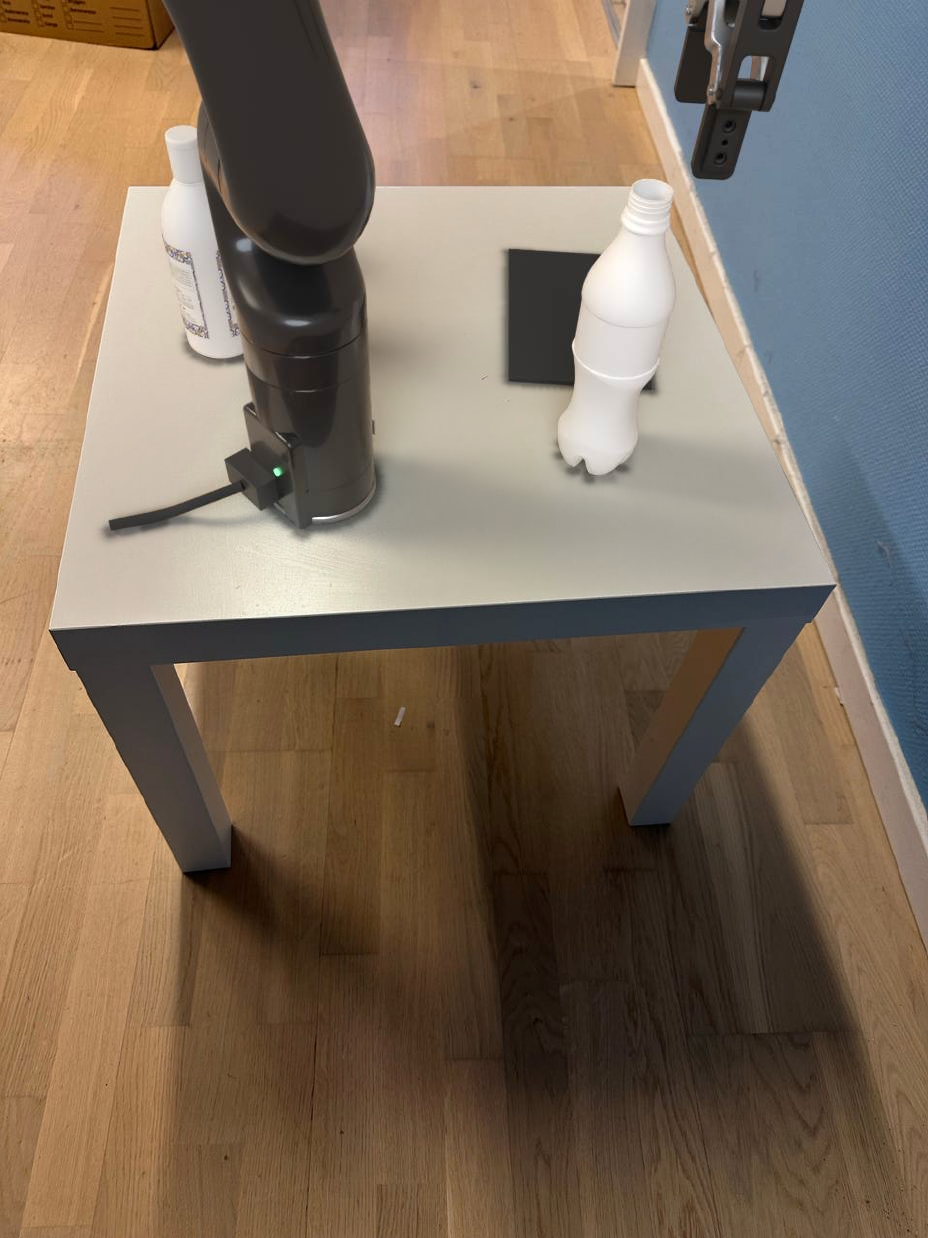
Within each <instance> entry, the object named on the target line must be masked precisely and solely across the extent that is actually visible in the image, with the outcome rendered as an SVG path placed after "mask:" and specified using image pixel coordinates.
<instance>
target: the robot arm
mask: <svg viewBox="0 0 928 1238" xmlns="http://www.w3.org/2000/svg"><path fill="white" fill-rule="evenodd" d="M161 1H162V3H163V5H164V8H165V9H166V11H167V14H168V15H169V18H170V20H171V21H172V23H173V26H174V28H175V30H176V32H177V34H178V37H179V39H180V41H181V44H182V46H183V48H184V51H185V53H186V57H187V60H188V62H189V64H190V68H191V70H192V73H193V75H194V78H195V82H196V85H197V89H198V90H199V93H200V94H199V95H200V97H201V100H200V105H199V108H198V113H197V118H196V119H197V120H196V128H197V144H198V153H199V159H200V164H201V170H202V175H203V180H204V185H205V190H206V194H207V199H208V204H209V209H210V213H211V218H212V223H213V227H214V232H215V237H216V242H217V246H218V251H219V256H220V260H221V264H222V268H223V271H224V275H225V278H226V281H227V284H228V287H229V290H230V293H231V297H232V300H233V303H234V307H235V312H236V317H237V322H238V327H239V333H240V338H241V343H242V349H243V354H242V355H243V360H244V365H245V371H246V376H247V382H248V387H249V393H250V397H251V401H249V402H247V403H245V404H244V405H243V406H242V412H243V417H244V423H245V429H246V432H247V437H248V442H249V448H250V449H249V448H248V447H247V446H245V447H244V448H242V449H241V450H239V451H237V452H235V453H233V454H231V455H230V456H228V457H226V458H224V460H223V461H224V465H225V470H226V473H227V478H228V482H229V483H230V484H228V485H224V486H222V487H220V488H216V489H215V490H211V491H209V492H207V493H204V494H201V495H198V496H196V497H193V498H191V499H188V500H185V501H182V502H180V503H177V504H174V505H172V506H167V507H164V508H161V509H156V510H153V511H148V512H142V513H139V514H138V513H137V514H133V515H128V516H122V517H118V518H113V519H108V526H109V528H110V531H116V530H121V529H122V530H123V529H128V528H131V527H136V526H142V525H147V524H152V523H156V522H160V521H163V520H168V519H172V518H174V517H178V516H181V515H184V514H187V513H189V512H191V511H194V510H197V509H200V508H202V507H205V506H207V505H210V504H213V503H216V502H218V501H220V500H223V499H226V498H228V497H231V496H233V495H236V494H239V493H241V494H242V495H243V497H245V498H246V499H247V500H248V501H249V502H251V504H252V505H253V506H255V508H257V509H258V511H260V512H262V511H264V510H265V509H267V508H269V507H271V506H272V505H273V506H274V507H275V508H276V509H277V510H278V511H279V512H281V513H282V514H283V515H284V516H286V517H287V518H288V519H289V520H290V521H291V522H292V523H293V524H294V525H295V526H296V527H297V528H298V529H300V530H303V529H306V528H308V527H309V526H311V525H316V524H317V525H318V524H319V525H323V524H332V523H337V522H340V521H341V522H342V521H344V520H346V519H349V518H351V517H353V516H355V515H356V514H359V512H362V510H363V509H365V507H367V505H369V503H370V502H371V501H372V498H373V497H374V495H375V492H376V487H377V474H376V473H377V472H376V468H375V452H374V451H375V450H374V436H375V435H376V427H375V420H373V412H372V391H371V390H372V388H371V368H370V365H371V364H370V346H369V345H370V342H369V321H368V319H369V318H368V299H367V297H368V295H367V287H366V281H365V277H364V274H363V271H362V268H361V265H360V261H359V259H358V256H357V253H356V250H355V244H357V242H358V241H359V239H360V238H361V237H362V235H363V233H364V231H365V229H366V227H367V225H368V223H369V221H370V218H371V215H372V211H373V208H374V203H375V197H376V189H377V187H376V186H377V185H376V166H375V160H374V156H373V153H372V149H371V146H370V144H369V141H368V138H367V136H366V132H365V130H364V127H363V125H362V122H361V120H360V117H359V114H358V112H357V109H356V106H355V104H354V101H353V98H352V95H351V93H350V90H349V86H348V84H347V81H346V78H345V74H344V72H343V70H342V66H341V63H340V60H339V57H338V54H337V51H336V49H335V46H334V43H333V40H332V37H331V34H330V32H329V31H330V30H329V28H328V24H327V21H326V18H325V16H324V12H323V8H322V5H321V1H320V0H161ZM804 3H805V0H688V3H687V4H686V5H685V10H684V17H685V23H686V25H687V28H686V32H685V37H684V40H683V45H682V50H681V54H680V59H679V62H678V67H677V72H676V77H675V82H674V85H673V93H674V98H675V100H676V101H677V103H680V104H681V103H682V104H694V105H695V104H696V105H704V109H703V113H702V117H701V120H700V125H699V129H698V133H697V137H696V141H695V144H694V149H693V152H692V156H691V160H690V169H691V173H692V176H693V177H694V178H695V179H698V180H713V181H726V180H728V179H730V178H731V177H732V176H733V175H734V173H735V170H736V166H737V163H738V160H739V157H740V153H741V151H742V147H743V143H744V140H745V137H746V133H747V130H748V127H749V123H750V119H751V116H752V112H758V113H770V111H771V110H772V108H773V105H774V103H775V101H776V98H777V92H778V89H779V85H780V82H781V79H782V75H783V73H784V70H785V65H786V62H787V59H788V57H789V53H790V50H791V45H792V42H793V39H794V36H795V33H796V29H797V26H798V23H799V19H800V17H801V13H802V10H803V7H804ZM733 24H734V26H732V25H733ZM747 57H751V66H750V73H749V74H750V75H749V77H739V74H740V71H741V66H742V63H743V61H744V60H745V59H746V58H747Z"/></svg>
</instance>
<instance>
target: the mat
mask: <svg viewBox="0 0 928 1238" xmlns="http://www.w3.org/2000/svg"><path fill="white" fill-rule="evenodd" d="M601 255H602V253H601V254H600V253H583V252H568V251H552V250H536V249H521V248H508V382H516V383H517V382H518V383H531V384H533V383H534V384H550V385H567V386H568V385H569V386H574V384H575V363H574V354H573V349H572V343H573V340H574V338H575V335H576V330H577V324H578V319H579V313H580V307H581V302H582V288H583V284H584V282H585V279H586V277H587V275H588V272H589V271H590V269H591V268H592V266H593V265H594V263H595V262H596V261H597V260H598V258H599V257H600V256H601ZM652 388H653V385H652V378H651V379H650V380H649V381H648V382H647V383H646V385H645V386H644V387H643V388H642V390H652Z"/></svg>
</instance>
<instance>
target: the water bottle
mask: <svg viewBox="0 0 928 1238" xmlns="http://www.w3.org/2000/svg"><path fill="white" fill-rule="evenodd" d="M674 194H675V191H674V189H673V187H672V186H671V185H669V184H668V183H667V182H665V181H663V180H660V179H655V178H643V179H637V180H636V181H634V182H633V183H632V184H631V188H630V189H629V194H628V199H627V203H626V204H625V206H624V208H623V211H622V213H621V215H620V223H621V227H620V229H619V232H618V233H617V235H616V236H615V238H614V239H613V241H612V242H610V244H609V245H608V246H607V247H606V249H604V251H603V252H602V253H601V254H602V255H601V256H600V257H599V258H598V260H597V261H596V262H595V263H594V265H593V266H592V268H591V269H590V271H589V272H588V275H587V277H586V279H585V282H584V284H583V288H582V302H581V307H580V313H579V319H578V324H577V330H576V335H575V338H574V340H573V343H572V349H573V354H574V363H575V384H574V385H573V386H574V387H573V392H572V395H571V400H570V402H569V404H568V407H567V408H566V409H565V410H564V412H562V414H561V416H560V417H559V419H558V424H557V443H558V444H557V445H558V447H559V451H560V453H561V455H562V458H563V460H565V462H566V463H567V464H568V465H569V466H570V467H573V468H575V467H577V465H579V464H580V463H581V461H583V460H584V462H585V466H586V470H587V472H588V473H589V474H590V475H593V476H603V475H606V474H608V473H610V472H612V471H614V469H616V468H617V467H618V466H619V465H621V464H623V463H625V462H626V461H627V460H628V459H629V458H630V457H631V456H632V454H633V453H634V450H635V448H636V446H637V443H638V440H639V435H640V430H639V421H638V407H639V399H640V395H641V392H642V390H643V389H642V388H643V387H644V386H645V385H646V383H647V382H648V381H649V380H650V379H651V380H652V378H653V377H654V375H655V373H656V372H657V370H658V367H659V364H660V362H661V351H662V347H663V344H664V340H665V336H666V332H667V330H668V327H669V322H670V320H671V319H670V318H671V315H672V313H673V312H674V310H675V306H676V301H677V286H676V285H677V284H676V279H675V278H676V277H675V273H674V271H673V266H672V263H671V259H670V256H669V254H668V250H667V247H666V246H667V245H666V233H667V232H668V231H669V230H670V228H671V224H672V220H671V218H672V216H671V214H672V213H671V208H672V205H673V202H674Z"/></svg>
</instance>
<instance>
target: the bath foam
mask: <svg viewBox="0 0 928 1238" xmlns="http://www.w3.org/2000/svg"><path fill="white" fill-rule="evenodd" d="M164 140H165V141H164V142H165V145H166V150H167V151H166V152H167V155H168V159H169V163H170V168H171V172H172V176H173V178H172V180H171V182H170V183H169V186H168V189H167V190H166V193H165V195H164V199H163V202H162V205H161V211H160V228H161V236H162V241H163V244H164V250H165V253H166V257H167V262H168V265H169V269H170V273H171V277H172V282H173V286H174V289H175V293H176V298H177V302H178V306H179V311H180V315H181V318H182V323H183V325H184V330H185V334H186V338H187V341H188V343H189V345H190V347H191V348H192V349H193V350H194V351H195V352H196V353H198V354H200V355H202V356H204V357H208V358H212V359H230V358H235V357H238V356H241V355H244V354H243V349H242V343H241V338H240V333H239V327H238V322H237V317H236V312H235V307H234V303H233V300H232V297H231V293H230V290H229V287H228V284H227V281H226V278H225V275H224V271H223V268H222V264H221V260H220V256H219V251H218V246H217V242H216V237H215V232H214V227H213V223H212V218H211V213H210V209H209V204H208V199H207V194H206V190H205V185H204V180H203V175H202V170H201V164H200V159H199V153H198V144H197V127H195V126H192V125H187V124H186V125H185V124H184V125H176V126H175V125H174V126H172V127H170V128H168V129H167V130H166V131H165V133H164Z"/></svg>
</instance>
